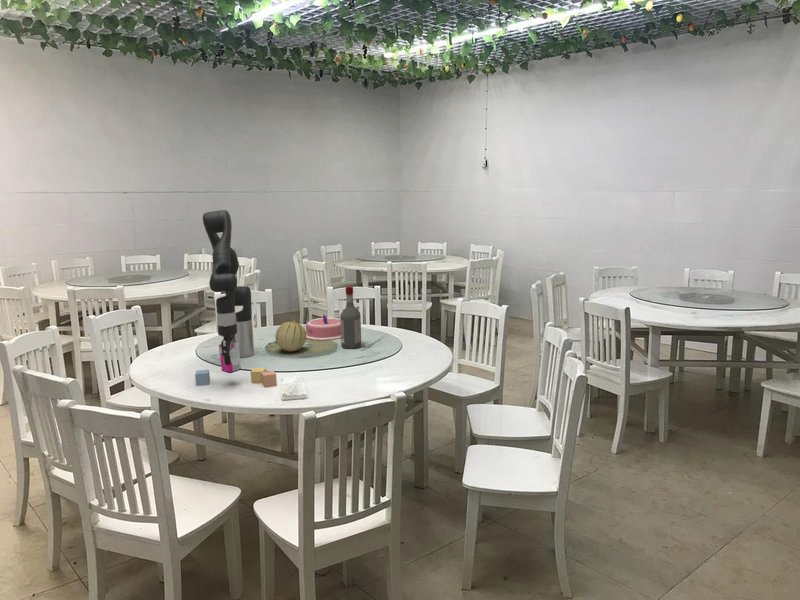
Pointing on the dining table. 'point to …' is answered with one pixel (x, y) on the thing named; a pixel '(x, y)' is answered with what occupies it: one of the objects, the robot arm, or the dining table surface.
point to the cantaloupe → (290, 336)
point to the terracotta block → (269, 379)
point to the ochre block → (257, 375)
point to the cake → (323, 329)
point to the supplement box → (234, 359)
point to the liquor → (350, 323)
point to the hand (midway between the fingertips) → (230, 361)
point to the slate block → (202, 377)
